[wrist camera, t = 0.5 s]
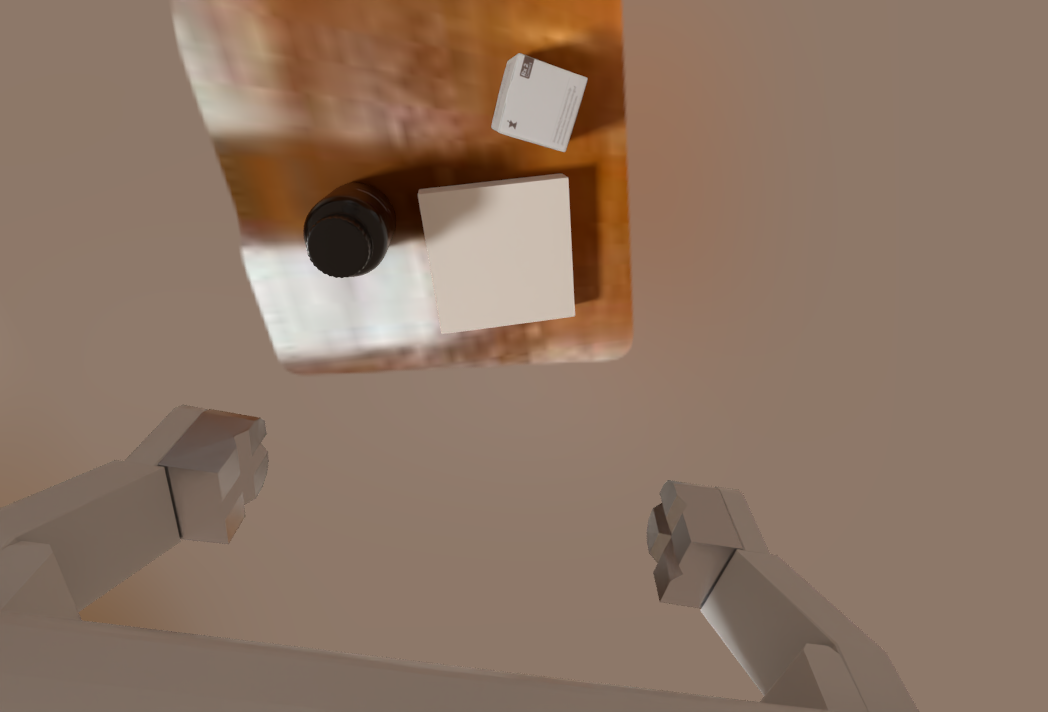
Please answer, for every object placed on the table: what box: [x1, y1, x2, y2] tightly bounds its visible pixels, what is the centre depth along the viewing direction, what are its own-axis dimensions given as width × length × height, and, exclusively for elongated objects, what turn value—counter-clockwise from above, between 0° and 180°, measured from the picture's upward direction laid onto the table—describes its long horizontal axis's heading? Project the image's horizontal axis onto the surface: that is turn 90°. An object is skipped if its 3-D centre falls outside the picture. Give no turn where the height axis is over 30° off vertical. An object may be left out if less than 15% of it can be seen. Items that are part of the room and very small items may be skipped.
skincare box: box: [491, 53, 588, 152], centre depth 47 cm, size 6×6×7 cm
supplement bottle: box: [304, 183, 396, 278], centre depth 47 cm, size 7×7×12 cm
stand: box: [418, 173, 575, 334], centre depth 54 cm, size 14×14×3 cm
